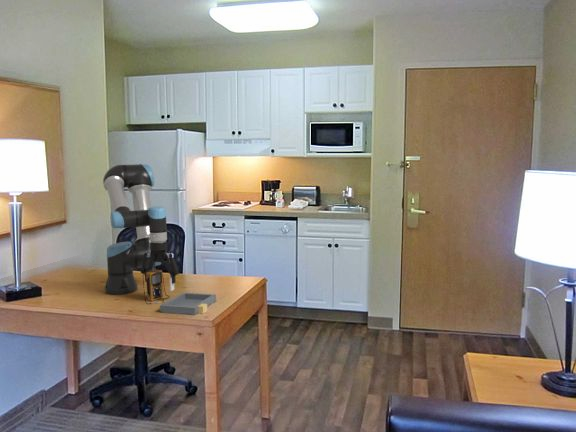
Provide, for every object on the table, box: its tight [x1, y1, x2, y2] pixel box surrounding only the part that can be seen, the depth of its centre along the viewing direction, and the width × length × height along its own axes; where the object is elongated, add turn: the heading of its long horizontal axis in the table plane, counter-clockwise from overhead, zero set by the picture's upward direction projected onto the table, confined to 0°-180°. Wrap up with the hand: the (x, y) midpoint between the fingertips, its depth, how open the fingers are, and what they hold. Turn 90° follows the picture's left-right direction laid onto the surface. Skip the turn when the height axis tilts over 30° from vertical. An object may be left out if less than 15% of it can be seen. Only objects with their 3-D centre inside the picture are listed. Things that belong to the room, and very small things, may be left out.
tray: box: [159, 292, 217, 316], centre depth 220 cm, size 18×21×3 cm
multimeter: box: [142, 258, 170, 305], centre depth 230 cm, size 15×10×20 cm
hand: (160, 289), depth 231 cm, fingers open, 11 cm apart
